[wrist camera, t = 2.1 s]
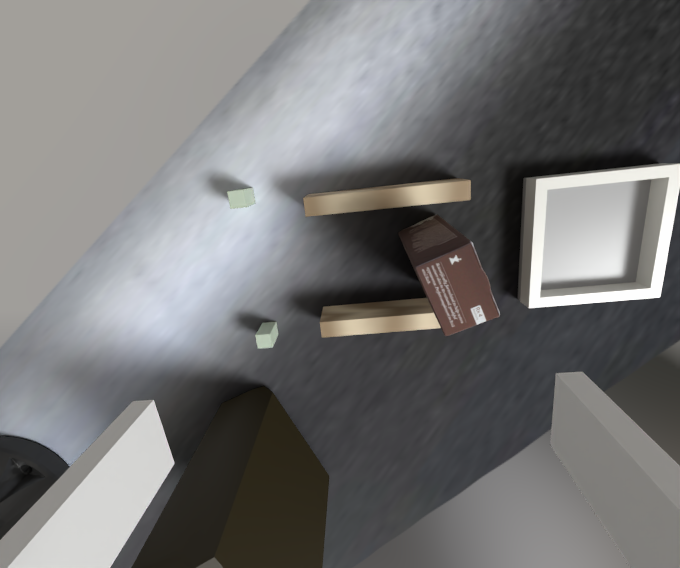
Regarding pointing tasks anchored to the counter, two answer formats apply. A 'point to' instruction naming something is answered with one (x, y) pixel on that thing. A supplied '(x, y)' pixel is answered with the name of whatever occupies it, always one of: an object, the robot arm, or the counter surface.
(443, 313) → the box
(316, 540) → the bottle
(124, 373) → the counter surface
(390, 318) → the channel
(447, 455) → the counter surface
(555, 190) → the tray
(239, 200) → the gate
